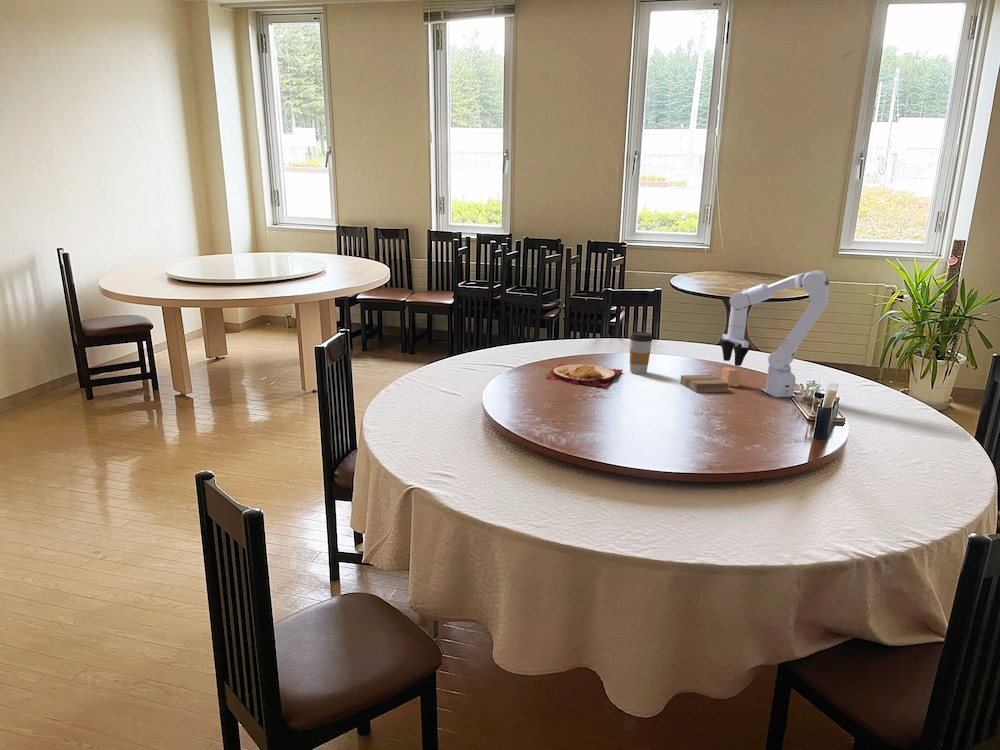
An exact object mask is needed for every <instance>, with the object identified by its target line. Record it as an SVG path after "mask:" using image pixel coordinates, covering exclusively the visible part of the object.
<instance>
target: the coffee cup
mask: <svg viewBox="0 0 1000 750" xmlns="http://www.w3.org/2000/svg"><path fill="white" fill-rule="evenodd" d="M629 340H630V342H629V343H630V344H629V345H630V348H629V371H630V373H631V374H634V375H645V374H647V372H648V366H649V362H650V356H651V348H652V347H651V346H652V342H653V336H652V333H650V332H645V331H634V332H631V335H630V337H629Z"/></svg>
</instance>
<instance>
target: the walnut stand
mask: <svg viewBox="0 0 1000 750" xmlns="http://www.w3.org/2000/svg"><path fill="white" fill-rule="evenodd" d="M680 384H681V385H682V386H684V387H685V388H688V389H689V390H691V391H693V392H694V393H728V392H729V387H728V385H729V383H727V382H725V381H723V380H721V378H718V377H716V376H714V375H713V374H695V375H694V374H693V375H692V374H691V375H685V374H683V375H682V374H681V375H680Z"/></svg>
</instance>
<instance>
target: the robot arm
mask: <svg viewBox="0 0 1000 750" xmlns="http://www.w3.org/2000/svg"><path fill="white" fill-rule="evenodd" d="M793 287H794V288H799V289H802V288H803V289H804V290H805V291H806V292H807V294H808V297H809V300H810V303H809V304H808V305H807V307H806V309H805V310H804V311H803V313H802V314H801V316H800V317H799V318H798V321H797V322H796V323H795V325H794V326H793V327H792V329H791V331H790V332H789V333H788V335H787V336H786V338H785V339H784V340H783V341H782V342H781V344H780V345H779V346H778V347H777V349H776V350H775V351H773V352H771V353H770V354H769V356H768V358H767V361H768V369H767V376H766V383H765V388H760V389H761V390H763V391H764V392H763V391H762V392H763V393H765V392H766V393H765V394H767V393H768V395H770V396H771V397H774V398H792V397H791V396H792V395H794V392H795V385H796V377H795V374H793V372H792V371H791V370H792V367H791V365H790V364H791V363H793V360H794V355H795V353H796V351H797V349H798V347H799V346H800V345H801V343H802V341H803V340H804V339H805V338H806V335H807V334H808V333H809V331H810V330H811V328H812V327H813V325H814V324H815V323H816V322H817V321H818V319H819V317H820V316H821V315H822V313H823V311H824V310H825V309H826V307H827V305H828V304H829V299H830V297H829V296H830V294H829V293H830V292H829V291H830V280H829V276H828V275H827V273H826V272H825V271H823V270H820V269H815V270H812V271H808V272H803V273H797V274H795V275H791V276H789V277H787V278H784V279H781V280H778V281H776V282H773V283H771V284H767V283H764V282H763V283H761V282H757V283H755V285H754V286H752V287H749V288H743V289H742V291H739V292H738V291H737V292H735V293H734V294H732V295H731V296H730V297H729V304H730V312H729V319H728V328H727V333H722V337H721V340H719V344H720V346H721V350H722V351H721V352H722V358H723V361H724V362H727V361H728V362H729V361H731V358H732V354H733V351H734V366H735V367H741V366H742V364H743V361H744V359H745V358H746V356H747V354H748V352H749V351H750V350H751V348H750V346H749V344H750V342H749V341H748V340H746V339H745V333H746V325H747V317H748V307H749V306H750V305H751V306H753V305H755V304H758V303H760V302H763V301H767V300H769V299H770V297H772V294H774V293H775V294H776V293H777V292H780V291H784V290H787V289H790V288H793ZM761 390H760V391H761Z"/></svg>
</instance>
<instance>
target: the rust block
mask: <svg viewBox="0 0 1000 750" xmlns="http://www.w3.org/2000/svg"><path fill="white" fill-rule="evenodd" d="M741 372H742V371H741V370H740V369H739V368H737V367H734V366H733V367H722V371H721V378H720V379H721V380H723V381H725V382H727V383H729V385H728V386H734V387H736V386H735V385H739V386H740V379H741Z"/></svg>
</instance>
